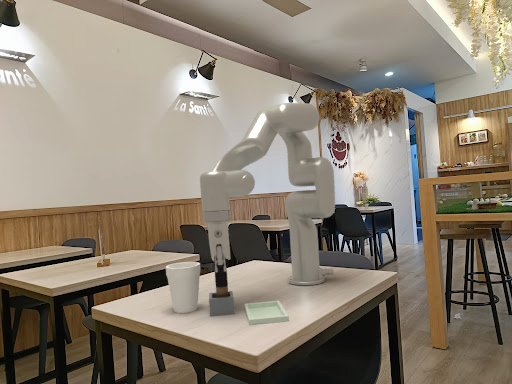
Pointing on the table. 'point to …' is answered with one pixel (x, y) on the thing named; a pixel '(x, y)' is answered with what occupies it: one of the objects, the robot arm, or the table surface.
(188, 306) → the foam cup
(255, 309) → the tray
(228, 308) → the pen cup
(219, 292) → the dowel
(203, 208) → the robot arm
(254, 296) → the table surface
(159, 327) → the table surface
